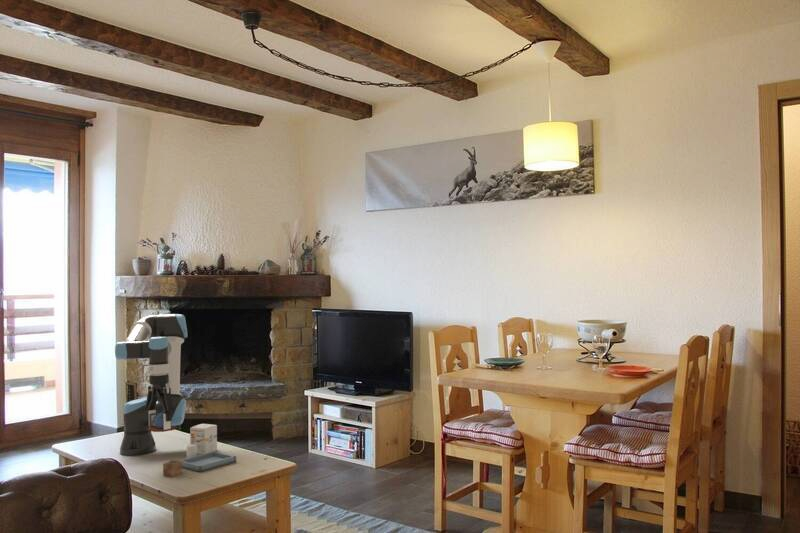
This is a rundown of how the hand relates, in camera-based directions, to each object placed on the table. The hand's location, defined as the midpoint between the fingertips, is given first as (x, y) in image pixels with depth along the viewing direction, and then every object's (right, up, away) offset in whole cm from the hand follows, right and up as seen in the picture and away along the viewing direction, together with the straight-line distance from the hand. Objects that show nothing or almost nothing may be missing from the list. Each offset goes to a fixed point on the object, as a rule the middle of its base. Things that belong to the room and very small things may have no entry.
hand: (159, 427), depth 271 cm
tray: (+19, -16, +3) cm, 25 cm away
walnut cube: (+9, -16, -12) cm, 22 cm away
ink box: (+11, -17, +24) cm, 31 cm away
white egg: (+10, -16, +11) cm, 22 cm away
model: (0, -1, +1) cm, 1 cm away
